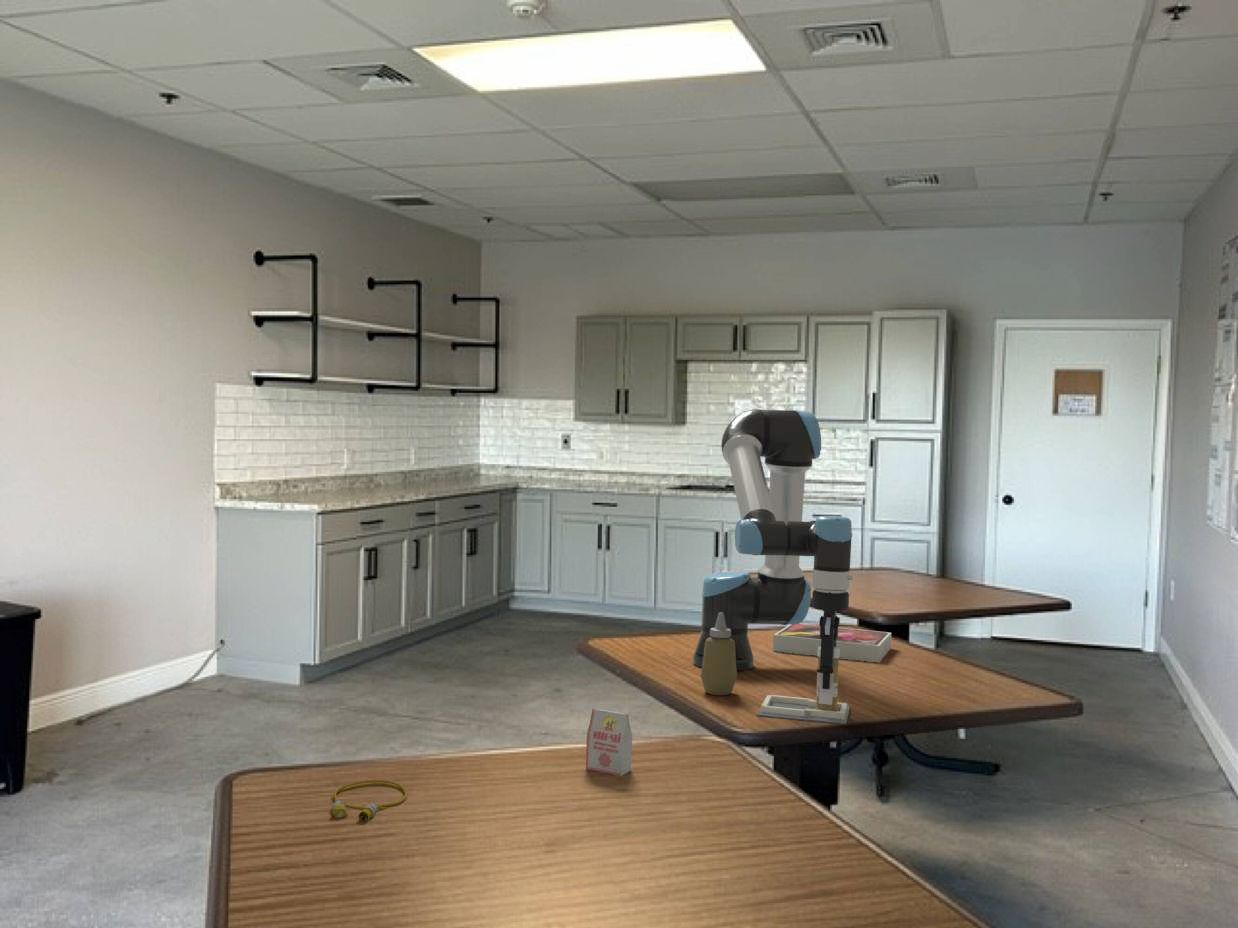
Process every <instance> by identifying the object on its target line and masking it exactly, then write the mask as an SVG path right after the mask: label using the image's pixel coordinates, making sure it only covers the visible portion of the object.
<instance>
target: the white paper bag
mask: <svg viewBox="0 0 1238 928" xmlns="http://www.w3.org/2000/svg"><path fill="white" fill-rule="evenodd" d="M629 717H630V715H629V714H628V713H627V714H626V713H622V712H617V711H611V710H605V709H600V708H599V709H597V708H592V709H591V715H590V719H589V725H588V729H587V733H586V749H585V750H586V751H585V752H586V753H585V770H589V771H594V772H599V773H603V774H608V775H613V776H618V777H622V776H624V775H626V774H628V773H629V772H631V771H632V752H633V750H632V749H633V734H632V729H631V725H630V719H629Z"/></svg>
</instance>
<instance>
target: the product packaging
mask: <svg viewBox="0 0 1238 928" xmlns="http://www.w3.org/2000/svg"><path fill="white" fill-rule="evenodd" d="M772 641H773V642H772V643H773V644H772V645H773V646H772V652H774V651H777V653H783V652H784V654H792V653H794V654H793V655H803V656H810V655H815V656H814V657H818V655H817V654H818V647H820V646H821V638H820V625H816V624H807V623H806V624H805V623H799V624H787V625H786V626H785V627H784V628H782V629H781V630H779V631H777V632H776V633H774V634H773V639H772ZM836 647H837V648H839V649H840V657H839V659H840V660H846V659H848V661H855V660H860V661H859V662H864V661H867V662H866V663H873V662H879V663H880V662H882V660H883V659H884V658H883V657H886V655H887V654H888V653H889V652H890V651H891V649H892V632H890V631H889V632H887V631H877V630H868V629H858V628H857V629H856V628H846V627H838V637H837V639H836ZM889 650H890V651H889ZM888 651H889V652H888ZM887 652H888V653H887ZM882 658H883V659H882Z"/></svg>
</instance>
